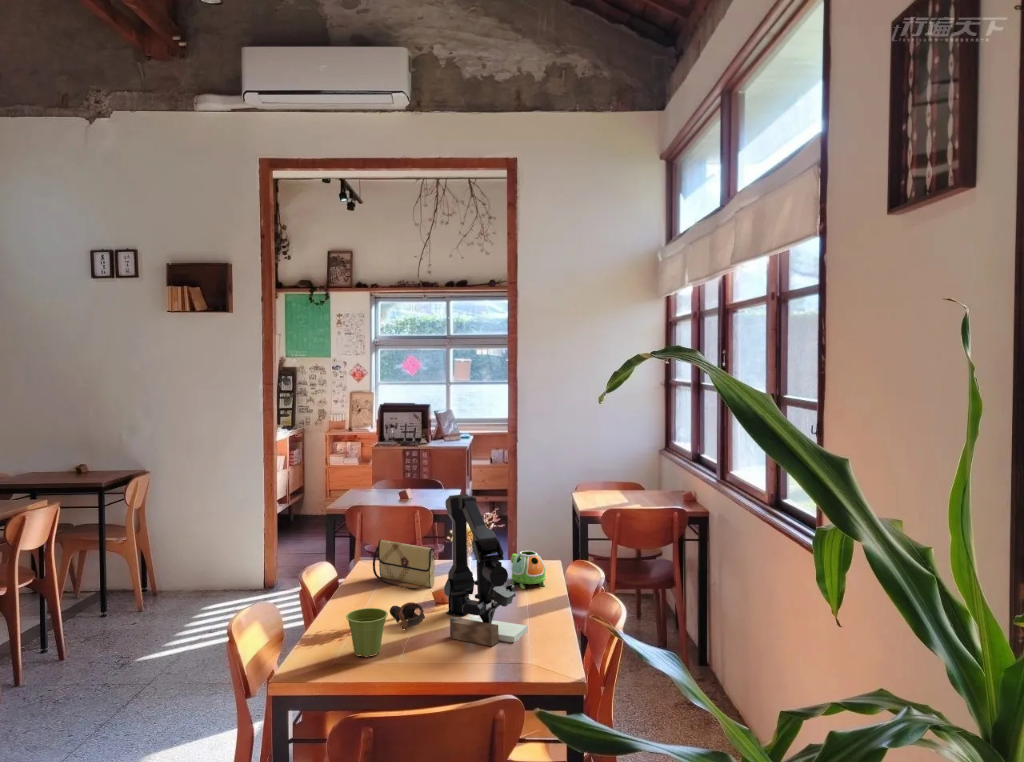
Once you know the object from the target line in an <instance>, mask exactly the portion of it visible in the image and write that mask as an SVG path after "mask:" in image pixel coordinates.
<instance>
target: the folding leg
mask: <svg viewBox="0 0 1024 762" xmlns="http://www.w3.org/2000/svg"><path fill="white" fill-rule="evenodd" d="M449 637H450V638H451V639H455V640H459V641H464V642H468V643H474V644H477V645H478V644H479V645H484V646H487V647H488V646H489V647H493V646H494V645H496V644H498V643H499V641H500V640H499V635H498V625H495V624H490V623H485V622H479V621H474V620H469V619H468V618H462V617H456V616H453V617H449Z"/></svg>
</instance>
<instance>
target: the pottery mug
mask: <svg viewBox="0 0 1024 762" xmlns="http://www.w3.org/2000/svg"><path fill="white" fill-rule="evenodd" d="M417 609H419V611H420V613H419V614H418V613H416V610H417ZM424 612H425V610H424V609H423V607H422V605H421V604H420V603H416V602H406V603H404V604H402V606H398V605H392V606H391V607H390V609H389V614H390V615H391V617H392V618H393V619H395V622H396V623H397V624H398V623H399V622H401V626H400V628H401V630H403V629H405V630H406V631H407V630H408V629H411V628H413V627H416V626H418V625H420V623H422V622H423V620H424V619H426V616H425V614H424Z"/></svg>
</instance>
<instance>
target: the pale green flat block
mask: <svg viewBox="0 0 1024 762" xmlns="http://www.w3.org/2000/svg"><path fill="white" fill-rule="evenodd" d="M467 619H469V620H474V621H479V622H483V621H482V619H481V618H480V617H479V618H478V617H474V616H473V617H469V618H467ZM491 624H495V625H498V635H499V641H500V642H508V643H512V642H513V644H514V643H516V642H517V641H518V640H520V638H522V637H523V636H524V635H526V634H527V633H528V632H529V630H528V628H529V626H528V625H525V624H520V623H512V622H508V621H507V622H506V621H499V620H493V619H492V623H491Z"/></svg>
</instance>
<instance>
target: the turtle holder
mask: <svg viewBox="0 0 1024 762" xmlns="http://www.w3.org/2000/svg"><path fill="white" fill-rule="evenodd" d="M510 562H511V579H512V581H511V584H512V585H516V583H519V587H520V589H522V590H525V589H526V586H525V585H535V584H540V586H541V587H546V583H545V582H544V581H546V565H545V563H544V561H543V559H542V557H541V556H540V555H539V554H538V553H537V552H535V551H534V550H533V551H532V550H523V551H520V552H519V553H511V557H510Z"/></svg>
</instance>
